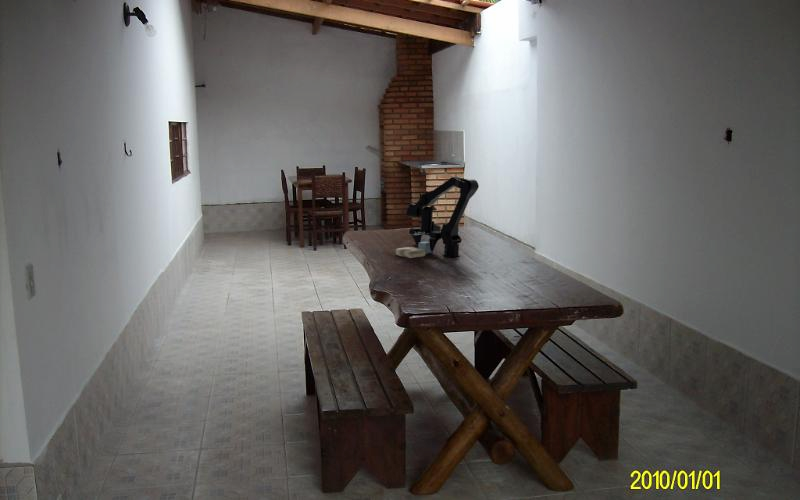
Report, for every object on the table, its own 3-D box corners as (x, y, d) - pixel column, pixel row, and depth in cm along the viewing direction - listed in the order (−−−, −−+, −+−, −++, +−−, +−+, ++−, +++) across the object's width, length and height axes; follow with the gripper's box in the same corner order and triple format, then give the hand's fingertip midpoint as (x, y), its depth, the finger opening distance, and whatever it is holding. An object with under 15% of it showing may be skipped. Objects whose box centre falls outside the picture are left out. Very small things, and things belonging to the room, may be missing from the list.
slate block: (432, 252, 361) (432, 242, 360) (425, 253, 358) (425, 243, 357) (425, 251, 365) (425, 241, 364) (418, 252, 361) (418, 242, 361)
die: (427, 248, 378) (436, 232, 380) (413, 239, 377) (422, 223, 380) (424, 251, 386) (432, 235, 389) (409, 242, 385) (418, 226, 388)
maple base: (425, 255, 352) (425, 249, 351) (410, 258, 345) (410, 251, 344) (410, 252, 359) (411, 246, 358) (396, 254, 352) (396, 248, 351)
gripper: (451, 220, 357) (450, 251, 360) (424, 215, 371) (423, 246, 373) (435, 221, 350) (434, 253, 352) (409, 217, 363) (408, 248, 366)
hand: (425, 250), depth 361 cm, fingers open, 9 cm apart
